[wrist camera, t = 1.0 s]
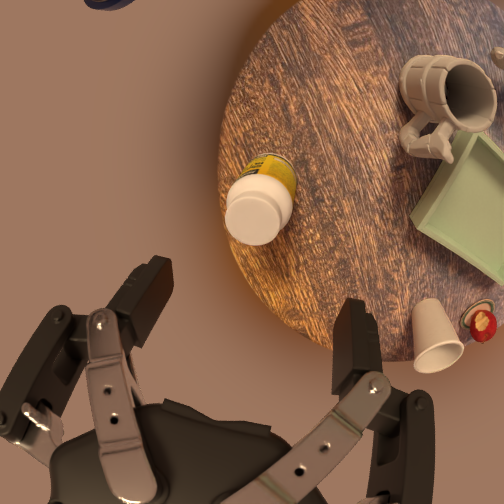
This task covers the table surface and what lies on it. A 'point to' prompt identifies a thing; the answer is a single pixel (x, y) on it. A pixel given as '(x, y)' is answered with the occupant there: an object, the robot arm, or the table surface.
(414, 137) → the mug
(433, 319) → the dixie cup
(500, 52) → the toy rhinoceros
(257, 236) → the pill bottle
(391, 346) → the table surface
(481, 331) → the apple
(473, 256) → the tray
